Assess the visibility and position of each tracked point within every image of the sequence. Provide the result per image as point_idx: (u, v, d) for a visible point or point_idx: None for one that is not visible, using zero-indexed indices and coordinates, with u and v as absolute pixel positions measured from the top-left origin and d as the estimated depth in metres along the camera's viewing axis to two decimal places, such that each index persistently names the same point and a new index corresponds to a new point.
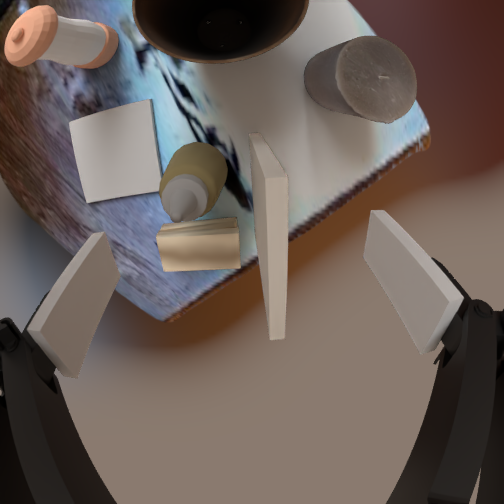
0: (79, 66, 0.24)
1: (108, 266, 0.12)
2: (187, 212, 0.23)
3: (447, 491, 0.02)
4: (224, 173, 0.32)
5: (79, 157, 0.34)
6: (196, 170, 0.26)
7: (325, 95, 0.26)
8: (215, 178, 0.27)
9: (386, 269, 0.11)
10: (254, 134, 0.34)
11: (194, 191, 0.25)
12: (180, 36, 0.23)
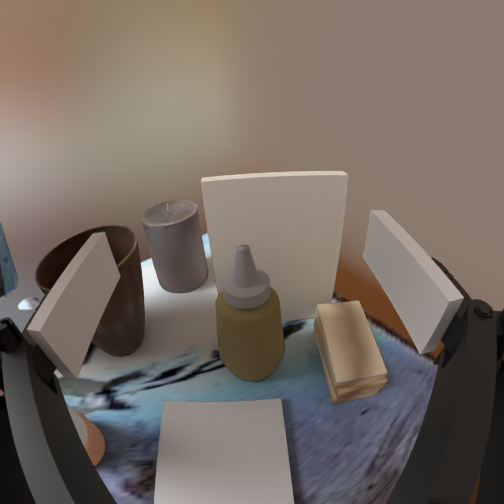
0: None
1: (108, 266, 0.12)
2: None
3: (447, 491, 0.02)
4: None
5: None
6: None
7: (185, 254, 0.43)
8: None
9: (386, 269, 0.11)
10: None
11: None
12: None
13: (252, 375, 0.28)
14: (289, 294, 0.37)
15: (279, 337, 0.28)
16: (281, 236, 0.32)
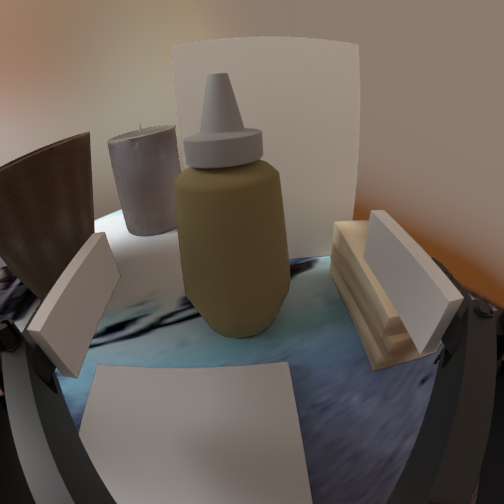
0: None
1: (108, 266, 0.12)
2: None
3: (446, 490, 0.02)
4: None
5: None
6: (190, 166, 0.17)
7: (156, 179, 0.32)
8: None
9: (386, 269, 0.11)
10: None
11: None
12: (38, 274, 0.19)
13: (237, 318, 0.17)
14: (293, 211, 0.26)
15: (282, 243, 0.17)
16: (278, 115, 0.21)
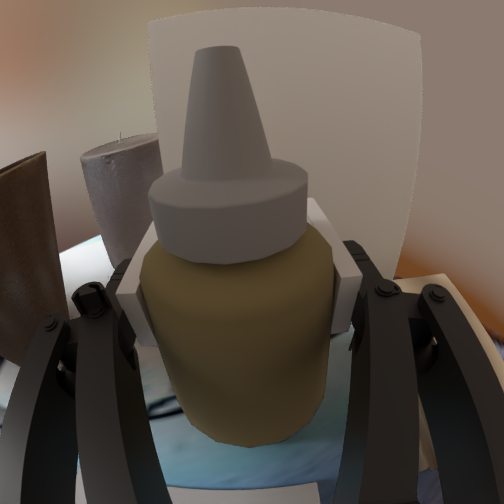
0: None
1: None
2: None
3: (382, 491, 0.03)
4: None
5: None
6: None
7: (140, 206, 0.24)
8: None
9: None
10: None
11: None
12: None
13: (252, 446, 0.10)
14: None
15: (325, 358, 0.10)
16: (312, 128, 0.14)
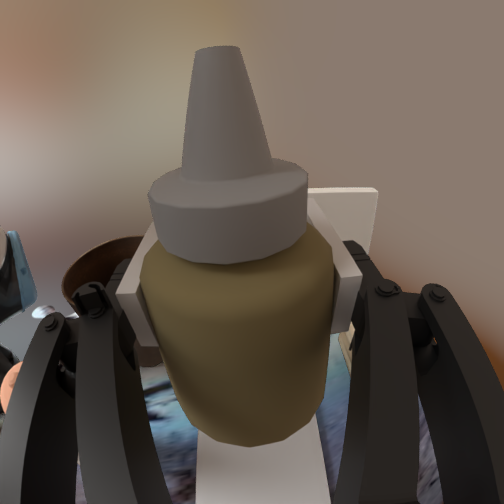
0: None
1: None
2: None
3: (382, 490, 0.03)
4: None
5: None
6: None
7: None
8: None
9: None
10: None
11: None
12: None
13: (252, 446, 0.10)
14: None
15: (325, 358, 0.10)
16: None
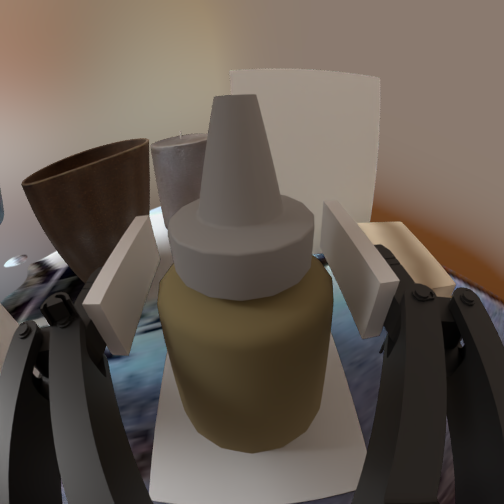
0: None
1: (151, 248, 0.13)
2: None
3: (406, 489, 0.03)
4: None
5: (246, 496, 0.11)
6: None
7: (199, 182, 0.37)
8: None
9: (335, 256, 0.12)
10: None
11: None
12: None
13: (254, 452, 0.11)
14: None
15: (323, 375, 0.11)
16: (316, 136, 0.26)
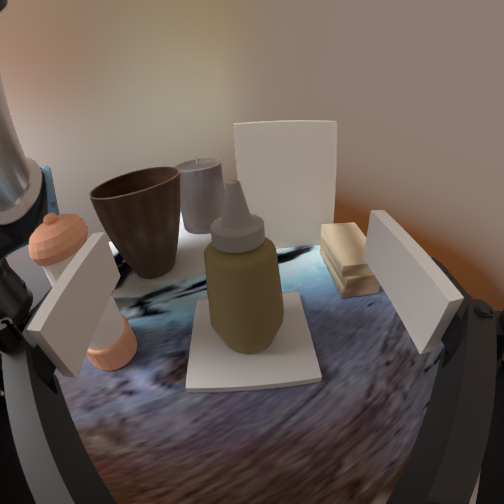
0: (120, 340, 0.27)
1: (108, 266, 0.12)
2: None
3: (447, 491, 0.02)
4: None
5: (244, 379, 0.25)
6: None
7: (211, 196, 0.52)
8: None
9: (386, 269, 0.11)
10: None
11: None
12: (148, 253, 0.39)
13: (247, 342, 0.25)
14: (298, 219, 0.46)
15: (277, 294, 0.25)
16: (291, 166, 0.41)
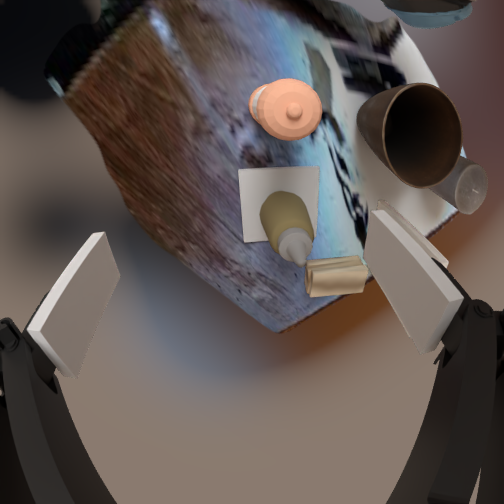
0: None
1: (108, 266, 0.12)
2: None
3: (447, 490, 0.02)
4: None
5: (245, 204, 0.48)
6: (302, 224, 0.37)
7: (437, 188, 0.40)
8: (313, 229, 0.38)
9: (386, 269, 0.11)
10: (384, 202, 0.48)
11: (305, 241, 0.35)
12: (363, 131, 0.37)
13: (259, 215, 0.45)
14: None
15: None
16: None
